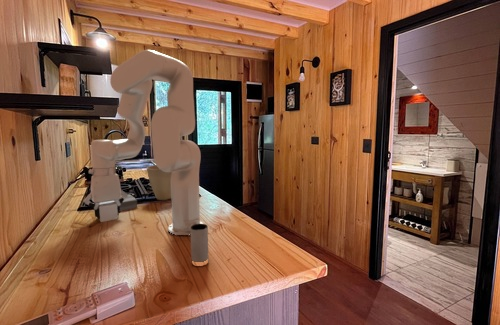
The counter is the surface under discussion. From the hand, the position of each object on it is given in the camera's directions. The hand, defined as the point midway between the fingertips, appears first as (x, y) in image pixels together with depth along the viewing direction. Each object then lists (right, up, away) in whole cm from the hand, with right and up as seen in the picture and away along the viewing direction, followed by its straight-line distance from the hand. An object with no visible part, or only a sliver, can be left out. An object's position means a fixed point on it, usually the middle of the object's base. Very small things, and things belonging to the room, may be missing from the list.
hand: (107, 216), depth 107 cm
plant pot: (+13, +3, +29) cm, 32 cm away
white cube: (0, -1, 0) cm, 1 cm away
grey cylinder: (+43, -6, -34) cm, 55 cm away
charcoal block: (-2, +1, +15) cm, 15 cm away
